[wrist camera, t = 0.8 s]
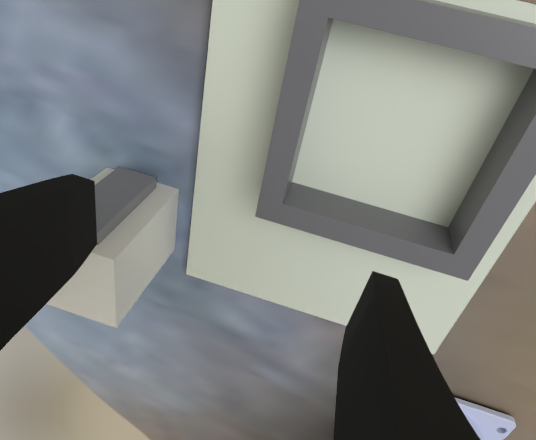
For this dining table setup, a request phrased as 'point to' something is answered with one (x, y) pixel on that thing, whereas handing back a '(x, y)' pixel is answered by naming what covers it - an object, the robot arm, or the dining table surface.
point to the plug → (122, 246)
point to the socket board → (364, 150)
